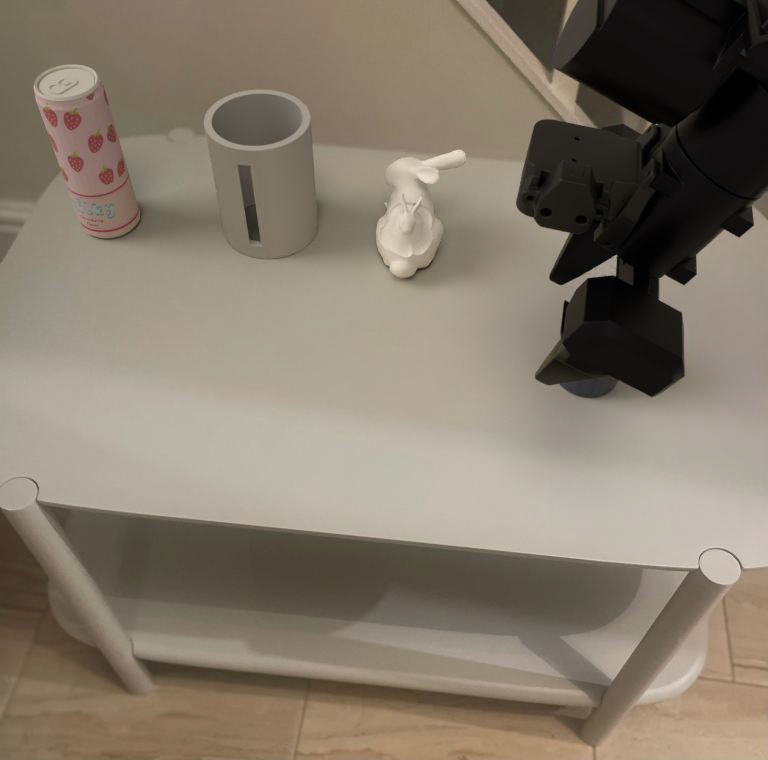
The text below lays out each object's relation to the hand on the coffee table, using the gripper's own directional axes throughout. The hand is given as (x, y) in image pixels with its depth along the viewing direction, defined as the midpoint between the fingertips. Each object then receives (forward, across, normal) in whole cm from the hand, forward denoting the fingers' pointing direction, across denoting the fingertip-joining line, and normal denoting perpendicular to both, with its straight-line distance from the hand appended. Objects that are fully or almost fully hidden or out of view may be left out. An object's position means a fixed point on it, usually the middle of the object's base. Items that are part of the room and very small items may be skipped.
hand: (548, 328), depth 52 cm
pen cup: (+10, -8, +9) cm, 16 cm away
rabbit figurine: (+17, -20, -6) cm, 27 cm away
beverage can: (+29, -16, -33) cm, 47 cm away
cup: (+22, -20, -19) cm, 35 cm away
